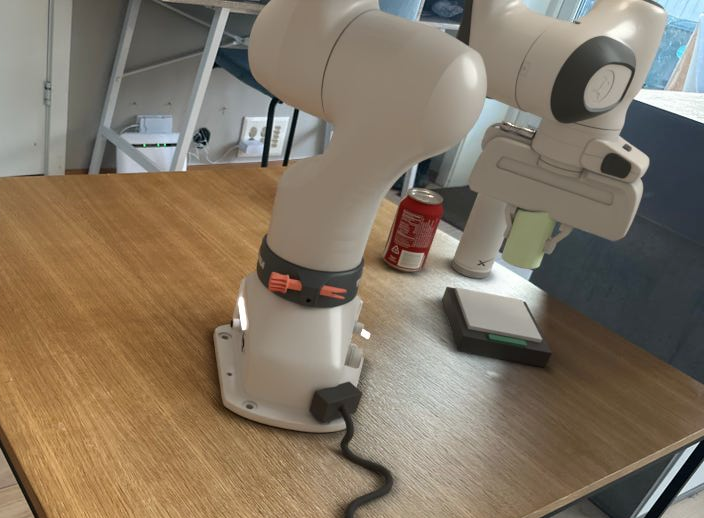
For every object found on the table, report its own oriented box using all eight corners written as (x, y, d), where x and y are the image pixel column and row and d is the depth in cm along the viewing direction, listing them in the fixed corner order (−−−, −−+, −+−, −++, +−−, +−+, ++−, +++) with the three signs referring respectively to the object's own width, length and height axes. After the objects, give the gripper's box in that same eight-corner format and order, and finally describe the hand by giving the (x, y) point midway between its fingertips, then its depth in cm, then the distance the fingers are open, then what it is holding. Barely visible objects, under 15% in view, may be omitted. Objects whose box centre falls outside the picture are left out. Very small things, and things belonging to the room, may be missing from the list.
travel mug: (485, 283, 113) (535, 163, 102) (446, 268, 116) (491, 149, 104) (494, 271, 118) (543, 155, 107) (456, 257, 120) (501, 142, 109)
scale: (544, 367, 95) (554, 349, 93) (457, 350, 95) (465, 332, 93) (519, 315, 106) (527, 298, 104) (441, 300, 106) (448, 282, 104)
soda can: (423, 278, 111) (448, 207, 105) (380, 268, 112) (403, 197, 105) (421, 260, 117) (445, 192, 110) (381, 251, 117) (403, 182, 111)
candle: (496, 261, 94) (517, 202, 90) (506, 250, 98) (526, 193, 93) (534, 273, 92) (557, 213, 87) (542, 261, 96) (565, 203, 91)
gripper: (483, 119, 87) (446, 222, 95) (656, 174, 79) (600, 282, 87) (498, 112, 92) (462, 211, 100) (664, 163, 84) (609, 266, 91)
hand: (527, 244), depth 93 cm, fingers closed on candle, 3 cm apart
